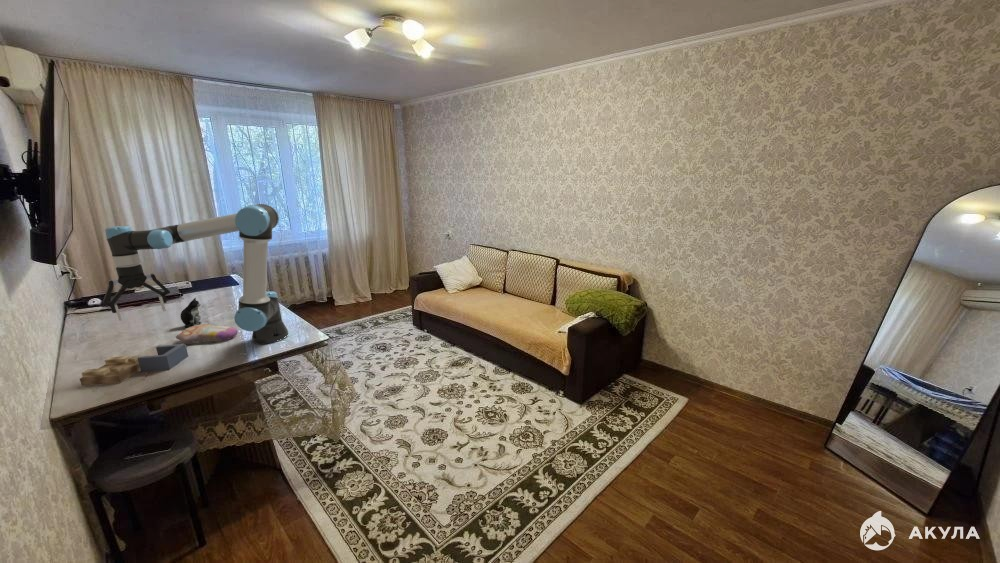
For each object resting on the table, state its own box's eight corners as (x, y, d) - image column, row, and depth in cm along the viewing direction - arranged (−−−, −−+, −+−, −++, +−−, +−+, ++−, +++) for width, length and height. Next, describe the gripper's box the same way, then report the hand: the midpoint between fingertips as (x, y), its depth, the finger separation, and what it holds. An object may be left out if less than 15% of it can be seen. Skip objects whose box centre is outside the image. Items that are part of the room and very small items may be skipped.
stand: (149, 364, 159) (146, 353, 158) (120, 382, 145) (117, 371, 143) (114, 367, 157) (110, 356, 156) (81, 386, 143) (77, 374, 141)
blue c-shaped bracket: (188, 356, 166) (185, 343, 164) (170, 369, 155) (166, 356, 153) (161, 358, 164) (158, 345, 163) (141, 371, 153) (137, 358, 151)
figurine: (202, 328, 198) (195, 301, 194) (178, 331, 194) (171, 303, 190) (207, 322, 206) (201, 296, 202) (185, 325, 203) (179, 298, 199)
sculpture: (244, 332, 197) (186, 335, 189) (243, 319, 196) (185, 323, 188) (233, 342, 182) (170, 346, 174) (232, 328, 180) (168, 332, 172)
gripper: (167, 258, 163) (179, 305, 168) (82, 269, 145) (99, 321, 150) (170, 261, 158) (182, 309, 164) (83, 272, 140) (100, 326, 146)
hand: (142, 315), depth 157 cm, fingers open, 13 cm apart
